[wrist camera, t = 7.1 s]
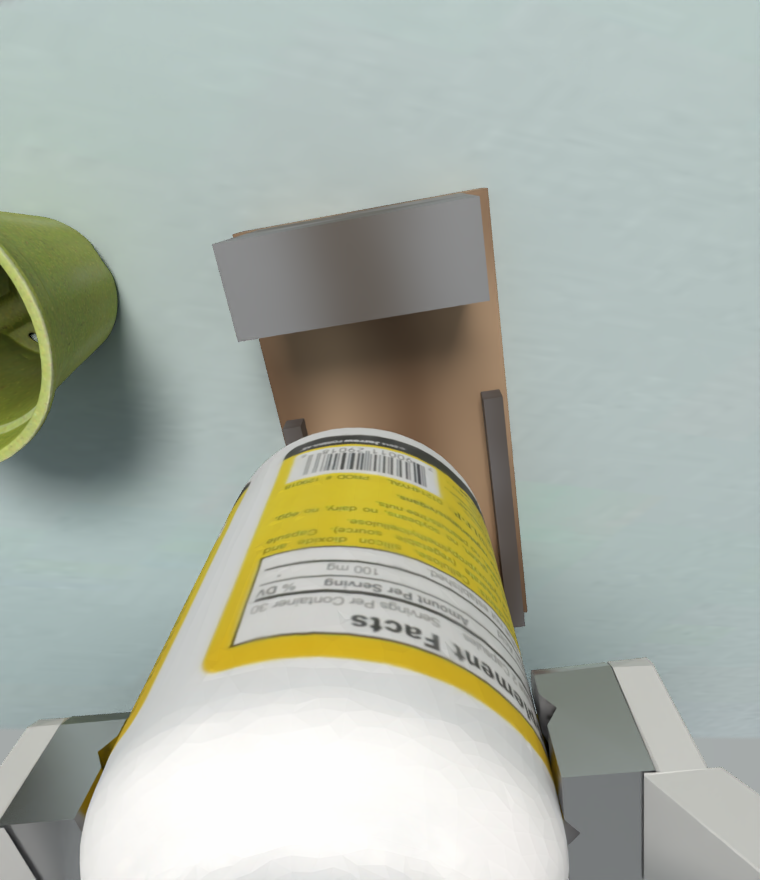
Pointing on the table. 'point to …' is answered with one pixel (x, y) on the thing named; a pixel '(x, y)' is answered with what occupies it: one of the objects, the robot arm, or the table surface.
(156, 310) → the table surface
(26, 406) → the plant pot
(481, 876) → the supplement bottle
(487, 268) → the frame
